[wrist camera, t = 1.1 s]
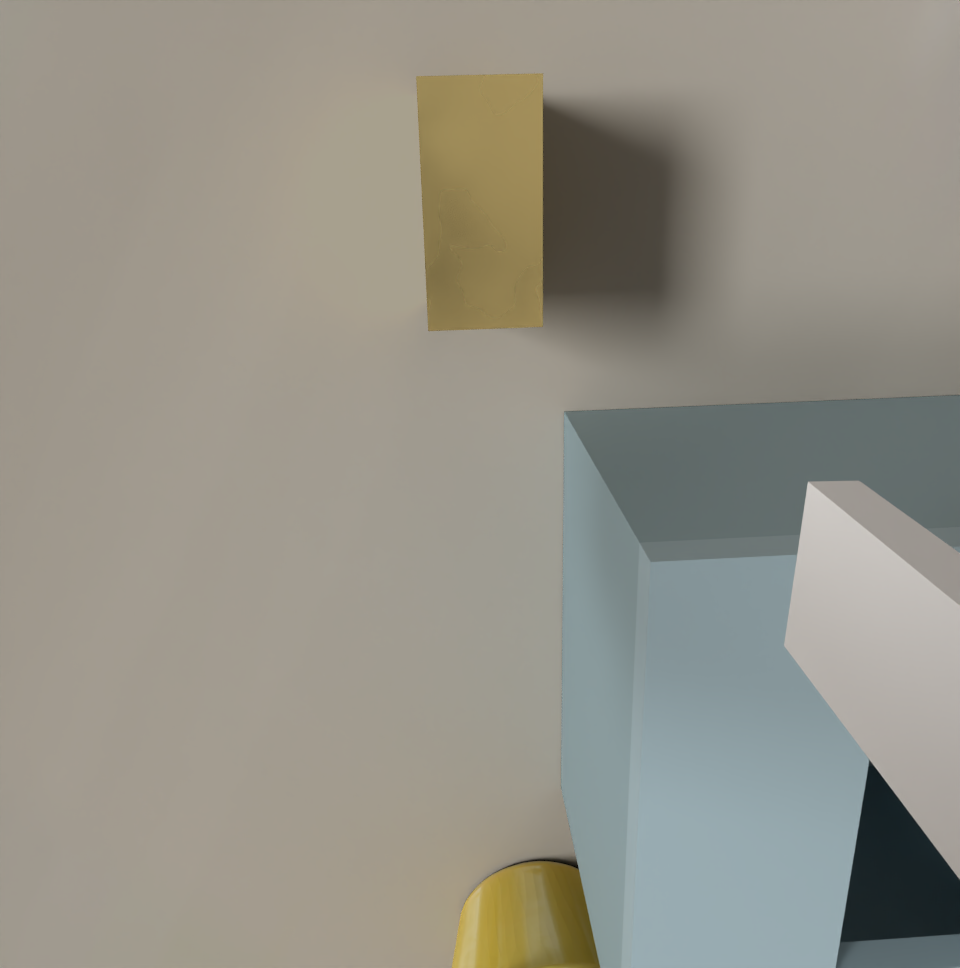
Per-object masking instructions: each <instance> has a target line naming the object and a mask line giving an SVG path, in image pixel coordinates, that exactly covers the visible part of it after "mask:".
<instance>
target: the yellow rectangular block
mask: <svg viewBox="0 0 960 968" xmlns="http://www.w3.org/2000/svg"><path fill="white" fill-rule="evenodd" d="M416 80H417V101H418V122H419V143H420V164H421V185H422V206H423V227H424V248H425V269H426V290H427V311H428V331H441V330H468V329H495V328H523V327H543V74H499V75H456V76H416Z"/></svg>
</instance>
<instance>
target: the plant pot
mask: <svg viewBox="0 0 960 968" xmlns="http://www.w3.org/2000/svg"><path fill="white" fill-rule="evenodd" d="M452 968H600V964H599V959H598V955H597V950H596V946H595V941H594V937H593V932H592V927H591V923H590V918H589V914H588V909H587V904H586V900H585V895H584V891H583V886H582V881H581V877H580V872H579V869H577V868H575V867H573V866H569V865H566V864H562V863H557V862H550V861H532V862H525V863H520V864H516V865H513V866H510V867H507V868H504V869H502V870H500V871H498V872H496V873H494V874H492V875H491V876H489V877H488V878H486V879H485V880H484V881H483V882H481V883H480V884H479V885H478V886H477V887H476V888H475V889H474V890H473V892H472V893H471V894H470V895H469V897H468V899H467V900H466V902H465V904H464V907H463V909H462V912H461V917H460V922H459V928H458V934H457V941H456V947H455V952H454V958H453V964H452Z"/></svg>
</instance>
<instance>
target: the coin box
mask: <svg viewBox="0 0 960 968" xmlns="http://www.w3.org/2000/svg"><path fill="white" fill-rule="evenodd" d="M813 481H860V482H862V483H863V484H864V485H866V486H867V487H869V488H870V489H871V490H873V491H874V492H876V493H877V494H878V495H880V496H881V497H882V498H884V499H885V500H887V501H888V502H889V503H891V504H892V505H894V506H895V507H896V508H898V509H899V510H901V511H902V512H903V513H905V514H906V515H907V516H909V517H910V518H912V519H913V520H914V521H916V522H917V523H919V524H920V525H921V526H923V527H924V528H926V529H927V530H928V531H930V532H931V533H933V534H934V535H935V536H937V537H938V538H939V539H941V540H942V541H944V542H945V543H946V544H948V545H949V546H951V547H952V548H953V549H955V550H956V551H958V552H959V553H960V395H952V396H928V397H904V398H880V399H856V400H832V401H808V402H784V403H760V404H736V405H712V406H688V407H664V408H640V409H616V410H592V411H568V412H564V509H563V627H562V746H561V789H562V794H563V799H564V803H565V808H566V812H567V817H568V822H569V826H570V831H571V835H572V840H573V845H574V849H575V854H576V858H577V863H578V868H579V872H580V877H581V881H582V886H583V891H584V895H585V900H586V904H587V909H588V914H589V918H590V923H591V927H592V932H593V937H594V941H595V946H596V950H597V955H598V959H599V964H600V968H960V879H959V878H958V877H957V875H956V874H955V873H954V871H953V870H952V869H951V867H950V866H949V865H948V863H947V862H946V861H945V859H944V858H943V857H942V855H941V854H940V853H939V851H938V850H937V849H936V847H935V846H934V845H933V843H932V842H931V841H930V839H929V838H928V837H927V835H926V834H925V833H924V831H923V830H922V829H921V827H920V826H919V825H918V824H917V822H916V821H915V820H914V818H913V817H912V816H911V814H910V813H909V812H908V810H907V809H906V808H905V806H904V805H903V804H902V802H901V801H900V800H899V798H898V797H897V796H896V794H895V793H894V792H893V790H892V789H891V788H890V786H889V785H888V784H887V782H886V781H885V780H884V778H883V777H882V776H881V774H880V773H879V772H878V770H877V769H876V768H875V766H874V765H873V764H872V762H871V761H870V760H869V758H868V757H867V756H866V754H865V753H864V752H863V750H862V749H861V748H860V746H859V745H858V744H857V742H856V741H855V740H854V738H853V737H852V736H851V734H850V733H849V732H848V730H847V729H846V728H845V726H844V725H843V724H842V722H841V721H840V720H839V718H838V717H837V716H836V714H835V713H834V712H833V710H832V709H831V708H830V706H829V705H828V704H827V702H826V701H825V700H824V698H823V697H822V696H821V694H820V693H819V692H818V690H817V689H816V688H815V686H814V685H813V684H812V682H811V681H810V680H809V678H808V677H807V676H806V674H805V673H804V672H803V670H802V669H801V668H800V666H799V665H798V664H797V662H796V661H795V660H794V658H793V657H792V656H791V654H790V653H789V652H788V650H787V649H786V648H785V646H784V642H785V635H786V628H787V621H788V614H789V608H790V601H791V594H792V587H793V580H794V574H795V567H796V560H797V553H798V546H799V539H800V533H801V526H802V519H803V512H804V505H805V499H806V492H807V485H808V482H813Z"/></svg>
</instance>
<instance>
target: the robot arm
mask: <svg viewBox="0 0 960 968" xmlns="http://www.w3.org/2000/svg"><path fill="white" fill-rule="evenodd" d="M784 646H785V648H786V649H787V650H788V652H789V653H790V654H791V656H792V657H793V658H794V660H795V661H796V662H797V664H798V665H799V666H800V668H801V669H802V670H803V672H804V673H805V674H806V676H807V677H808V678H809V680H810V681H811V682H812V684H813V685H814V686H815V688H816V689H817V690H818V692H819V693H820V694H821V696H822V697H823V698H824V700H825V701H826V702H827V704H828V705H829V706H830V708H831V709H832V710H833V712H834V713H835V714H836V716H837V717H838V718H839V720H840V721H841V722H842V724H843V725H844V726H845V728H846V729H847V730H848V732H849V733H850V734H851V736H852V737H853V738H854V740H855V741H856V742H857V744H858V745H859V746H860V748H861V749H862V750H863V752H864V753H865V754H866V756H867V757H868V758H869V760H870V761H871V762H872V764H873V765H874V766H875V768H876V769H877V770H878V772H879V773H880V774H881V776H882V777H883V778H884V780H885V781H886V782H887V784H888V785H889V786H890V788H891V789H892V790H893V792H894V793H895V794H896V796H897V797H898V798H899V800H900V801H901V802H902V804H903V805H904V806H905V808H906V809H907V810H908V812H909V813H910V814H911V816H912V817H913V818H914V820H915V821H916V822H917V824H918V825H919V826H920V827H921V829H922V830H923V831H924V833H925V834H926V835H927V837H928V838H929V839H930V841H931V842H932V843H933V845H934V846H935V847H936V849H937V850H938V851H939V853H940V854H941V855H942V857H943V858H944V859H945V861H946V862H947V863H948V865H949V866H950V867H951V869H952V870H953V871H954V873H955V874H956V875H957V877H958V878H959V879H960V553H959V552H958V551H956V550H955V549H953V548H952V547H951V546H949V545H948V544H946V543H945V542H944V541H942V540H941V539H939V538H938V537H937V536H935V535H934V534H933V533H931V532H930V531H928V530H927V529H926V528H924V527H923V526H921V525H920V524H919V523H917V522H916V521H914V520H913V519H912V518H910V517H909V516H907V515H906V514H905V513H903V512H902V511H901V510H899V509H898V508H896V507H895V506H894V505H892V504H891V503H889V502H888V501H887V500H885V499H884V498H882V497H881V496H880V495H878V494H877V493H876V492H874V491H873V490H871V489H870V488H869V487H867V486H866V485H864V484H863V483H862V482H860V481H813V482H808V485H807V492H806V499H805V505H804V512H803V519H802V526H801V533H800V539H799V546H798V553H797V560H796V567H795V574H794V580H793V587H792V594H791V601H790V608H789V614H788V621H787V628H786V635H785V642H784Z"/></svg>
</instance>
